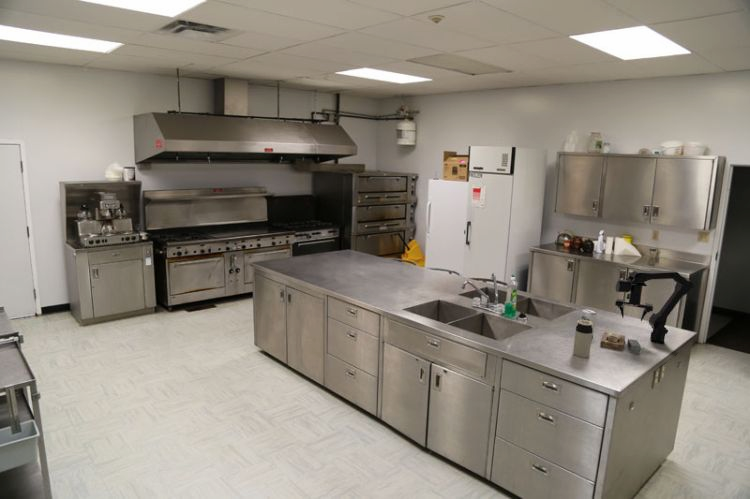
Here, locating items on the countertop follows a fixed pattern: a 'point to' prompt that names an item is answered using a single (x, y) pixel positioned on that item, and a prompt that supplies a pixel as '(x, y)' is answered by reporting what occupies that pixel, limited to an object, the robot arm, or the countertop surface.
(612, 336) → the square bit
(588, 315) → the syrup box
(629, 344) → the grey rectangular block
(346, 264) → the countertop surface
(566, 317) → the countertop surface
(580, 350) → the travel mug
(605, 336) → the socket block
